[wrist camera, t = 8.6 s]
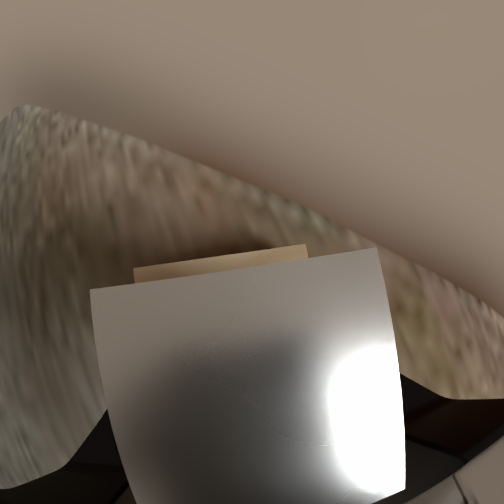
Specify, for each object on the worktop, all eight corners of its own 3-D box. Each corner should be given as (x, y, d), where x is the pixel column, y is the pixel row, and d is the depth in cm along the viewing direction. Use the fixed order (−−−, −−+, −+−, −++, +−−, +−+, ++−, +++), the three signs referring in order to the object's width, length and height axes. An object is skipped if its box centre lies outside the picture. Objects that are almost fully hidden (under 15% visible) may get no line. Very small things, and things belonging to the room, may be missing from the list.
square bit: (272, 374, 15) (404, 489, 3) (206, 385, 15) (152, 540, 2) (261, 310, 16) (375, 247, 4) (195, 320, 16) (89, 288, 3)
